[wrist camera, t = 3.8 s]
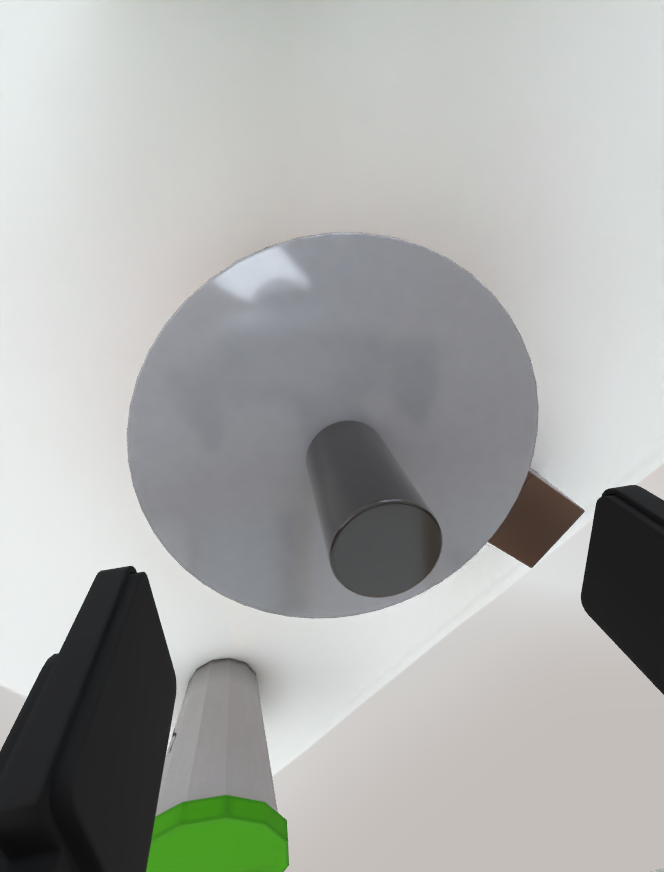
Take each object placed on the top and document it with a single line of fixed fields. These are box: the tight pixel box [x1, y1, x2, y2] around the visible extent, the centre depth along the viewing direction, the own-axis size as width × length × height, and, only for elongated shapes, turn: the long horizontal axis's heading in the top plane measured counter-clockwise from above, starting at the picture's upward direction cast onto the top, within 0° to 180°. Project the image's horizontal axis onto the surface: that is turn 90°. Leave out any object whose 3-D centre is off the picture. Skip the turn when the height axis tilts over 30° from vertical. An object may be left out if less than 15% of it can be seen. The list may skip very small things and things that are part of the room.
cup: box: [146, 659, 289, 872], centre depth 25 cm, size 8×8×15 cm
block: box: [488, 468, 584, 568], centre depth 27 cm, size 4×4×4 cm
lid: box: [127, 233, 538, 618], centre depth 13 cm, size 13×13×6 cm
